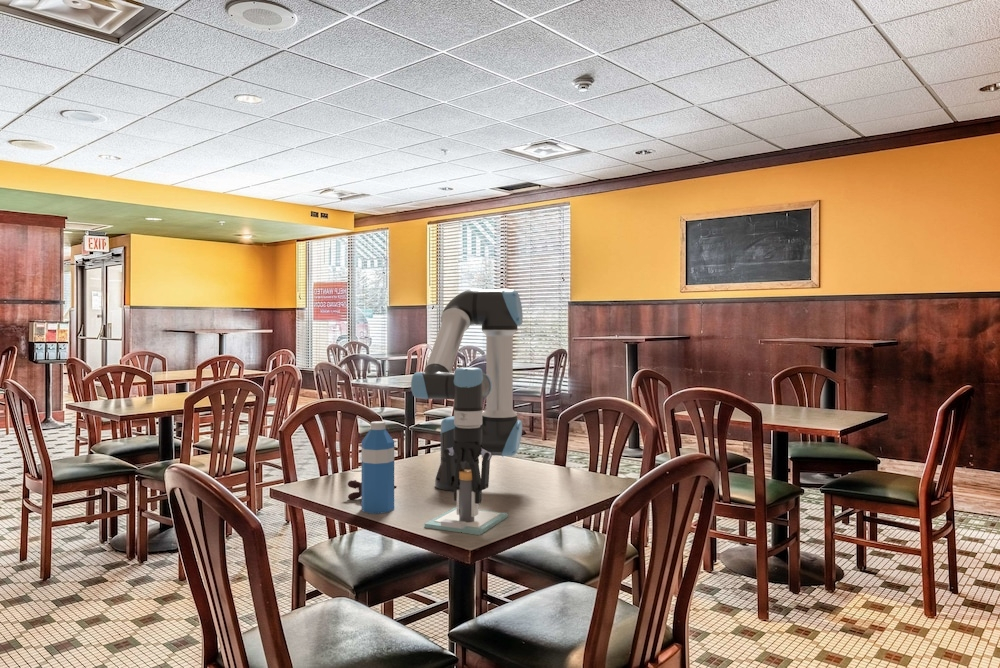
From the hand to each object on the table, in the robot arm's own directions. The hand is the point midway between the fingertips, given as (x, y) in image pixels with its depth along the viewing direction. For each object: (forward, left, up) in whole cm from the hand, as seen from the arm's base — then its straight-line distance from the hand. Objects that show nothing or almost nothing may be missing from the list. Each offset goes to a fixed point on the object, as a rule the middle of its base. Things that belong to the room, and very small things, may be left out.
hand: (467, 514), depth 180 cm
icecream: (-12, -38, -3) cm, 40 cm away
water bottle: (-3, -30, -3) cm, 30 cm away
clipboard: (-2, -1, -3) cm, 4 cm away
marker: (0, 0, -2) cm, 2 cm away
